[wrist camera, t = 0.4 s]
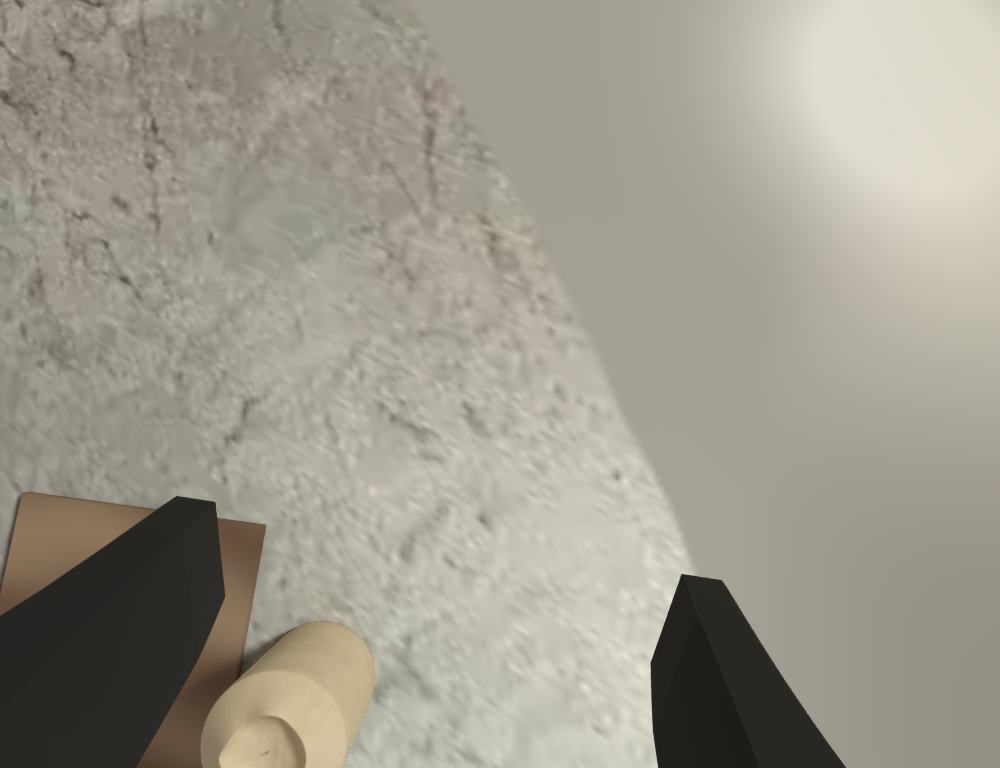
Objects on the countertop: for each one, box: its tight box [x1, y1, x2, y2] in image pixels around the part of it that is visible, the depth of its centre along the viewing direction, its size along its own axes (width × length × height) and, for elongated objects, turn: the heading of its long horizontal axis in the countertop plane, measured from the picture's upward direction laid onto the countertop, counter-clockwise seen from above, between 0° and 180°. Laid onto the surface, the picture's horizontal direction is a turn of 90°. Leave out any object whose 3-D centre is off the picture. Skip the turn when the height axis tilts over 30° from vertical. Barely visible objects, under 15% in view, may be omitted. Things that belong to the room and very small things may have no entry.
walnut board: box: [0, 492, 266, 768], centre depth 35 cm, size 13×12×1 cm
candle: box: [201, 621, 375, 768], centre depth 30 cm, size 6×6×10 cm
